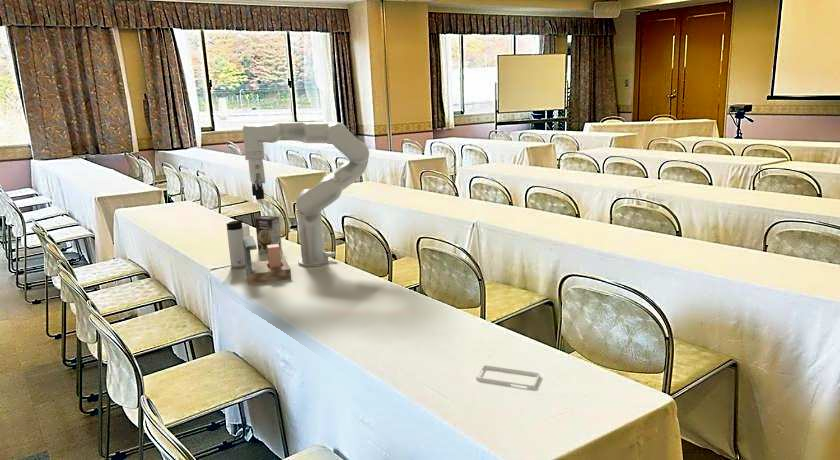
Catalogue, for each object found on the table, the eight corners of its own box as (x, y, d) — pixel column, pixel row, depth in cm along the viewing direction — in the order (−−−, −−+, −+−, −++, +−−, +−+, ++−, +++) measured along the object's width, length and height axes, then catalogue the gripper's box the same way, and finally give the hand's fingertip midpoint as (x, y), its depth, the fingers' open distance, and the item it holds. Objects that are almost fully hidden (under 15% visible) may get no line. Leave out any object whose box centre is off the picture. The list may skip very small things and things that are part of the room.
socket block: (285, 267, 257) (282, 232, 254) (291, 278, 243) (288, 241, 239) (246, 272, 252) (242, 237, 248) (249, 284, 237) (245, 246, 234)
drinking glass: (255, 257, 274) (252, 224, 270) (245, 261, 268) (241, 227, 265) (243, 255, 277) (240, 223, 273) (233, 260, 271) (229, 226, 267)
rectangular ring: (540, 377, 158) (483, 369, 163) (540, 372, 157) (483, 364, 163) (534, 391, 151) (475, 381, 157) (534, 386, 151) (475, 377, 156)
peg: (280, 272, 251) (278, 243, 248) (282, 275, 247) (279, 246, 244) (269, 273, 250) (266, 245, 247) (270, 277, 245) (268, 247, 243)
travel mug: (243, 269, 257) (238, 222, 252) (228, 268, 258) (223, 222, 253) (249, 264, 263) (245, 219, 258) (235, 264, 264) (230, 218, 259)
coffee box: (257, 252, 282) (254, 218, 278) (266, 248, 287) (262, 215, 283) (274, 254, 278) (271, 219, 274) (282, 250, 284) (279, 216, 280)
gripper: (267, 157, 243) (271, 199, 247) (260, 152, 258) (264, 193, 262) (248, 158, 240) (252, 201, 244) (242, 154, 256) (246, 194, 260)
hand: (258, 197), depth 253 cm, fingers open, 9 cm apart
